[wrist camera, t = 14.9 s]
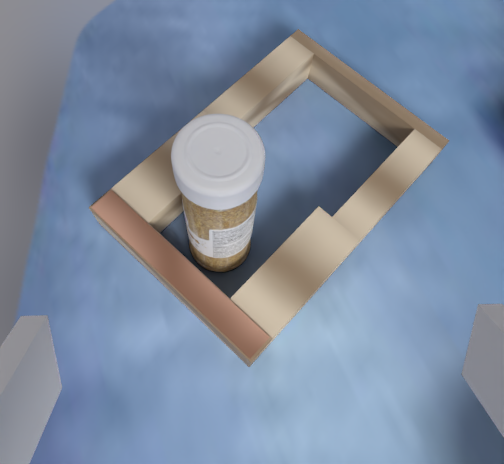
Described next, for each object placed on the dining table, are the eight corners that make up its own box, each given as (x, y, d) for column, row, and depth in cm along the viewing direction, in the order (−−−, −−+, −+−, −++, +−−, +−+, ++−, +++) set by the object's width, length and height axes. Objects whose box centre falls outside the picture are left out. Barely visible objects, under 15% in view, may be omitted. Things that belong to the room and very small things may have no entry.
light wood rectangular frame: (293, 55, 42) (298, 27, 39) (433, 160, 39) (450, 139, 36) (99, 223, 35) (87, 206, 32) (249, 366, 32) (251, 362, 29)
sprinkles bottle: (182, 225, 35) (159, 121, 23) (241, 209, 36) (249, 100, 24) (198, 282, 34) (183, 204, 21) (259, 264, 35) (279, 179, 22)
